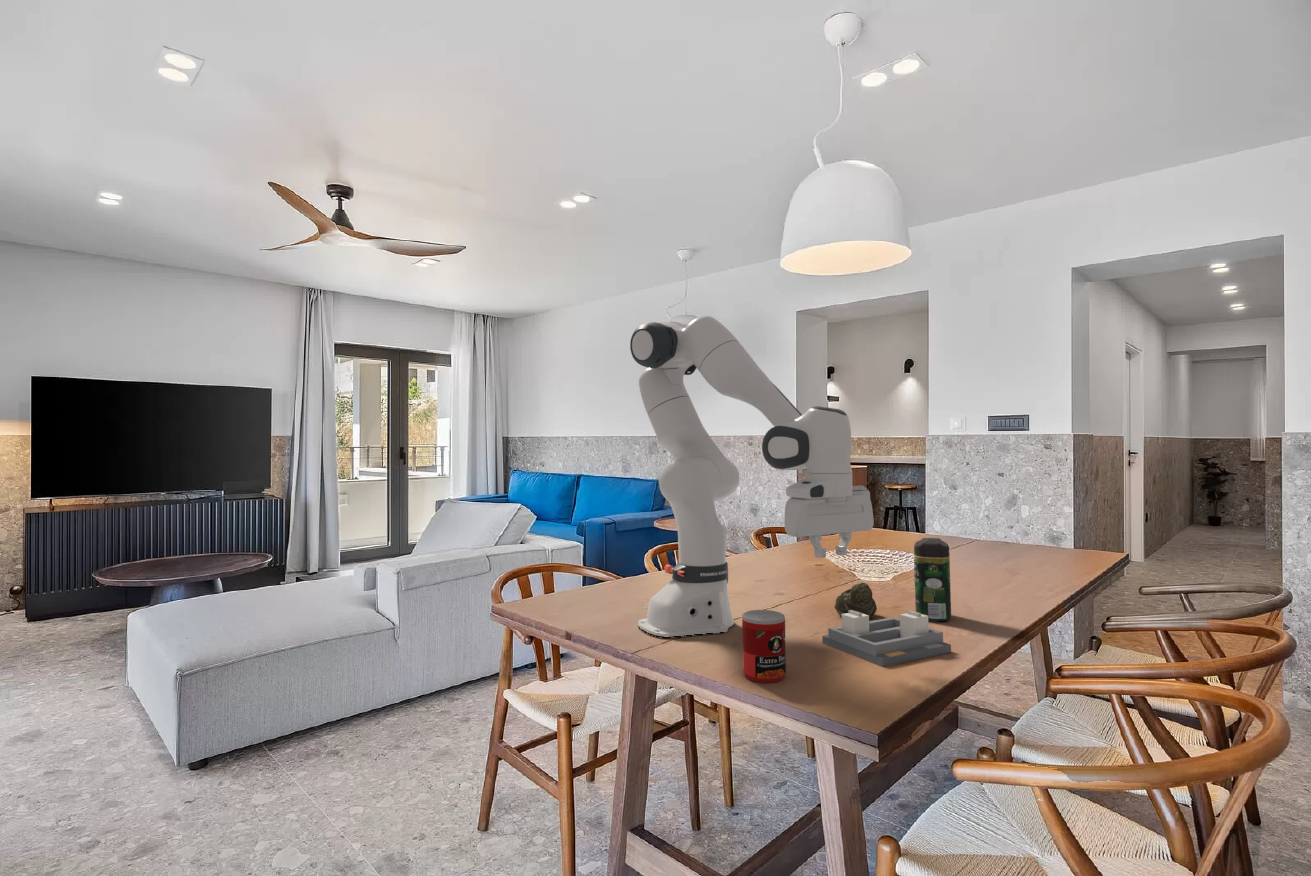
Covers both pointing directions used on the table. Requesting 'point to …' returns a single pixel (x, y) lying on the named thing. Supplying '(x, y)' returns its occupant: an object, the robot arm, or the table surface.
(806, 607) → the table surface
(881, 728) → the table surface
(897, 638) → the switch bank
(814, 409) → the robot arm
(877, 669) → the table surface
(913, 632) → the tab near
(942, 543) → the coffee jar
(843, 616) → the tab far
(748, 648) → the canned food
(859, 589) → the dark green lumpy mound
